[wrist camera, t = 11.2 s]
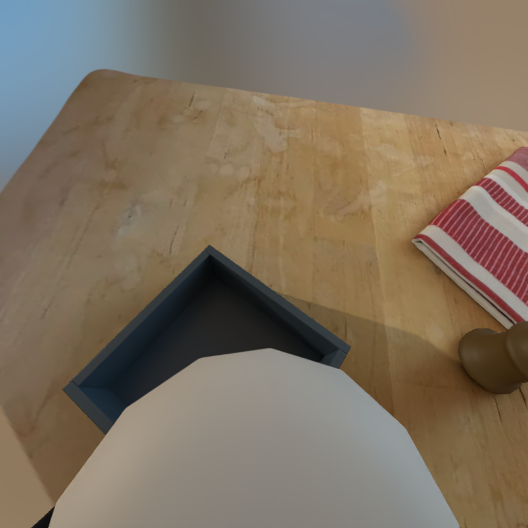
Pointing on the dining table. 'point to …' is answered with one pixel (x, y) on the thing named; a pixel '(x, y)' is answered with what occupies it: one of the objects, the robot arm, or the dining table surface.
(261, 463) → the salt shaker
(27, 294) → the dining table surface
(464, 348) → the kendama
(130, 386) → the bin
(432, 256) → the dish towel
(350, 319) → the dining table surface
